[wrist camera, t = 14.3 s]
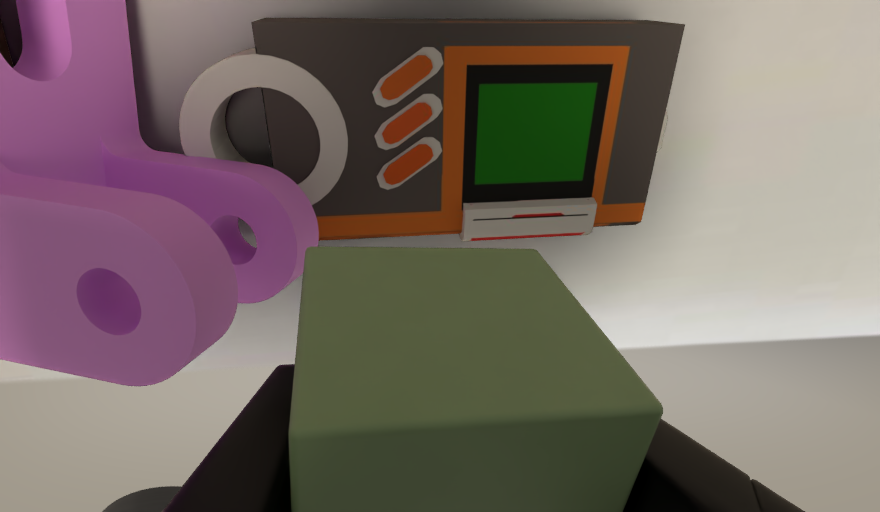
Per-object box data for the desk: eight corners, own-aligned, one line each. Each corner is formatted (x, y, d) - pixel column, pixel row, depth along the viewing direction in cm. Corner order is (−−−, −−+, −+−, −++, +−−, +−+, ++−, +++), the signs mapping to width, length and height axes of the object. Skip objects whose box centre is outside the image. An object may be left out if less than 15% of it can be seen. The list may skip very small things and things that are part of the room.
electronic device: (148, 22, 12) (703, 25, 14) (184, 16, 15) (651, 19, 17) (205, 260, 16) (653, 236, 18) (227, 221, 18) (616, 204, 20)
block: (536, 246, 9) (669, 407, 5) (500, 414, 11) (583, 615, 7) (305, 243, 8) (288, 435, 5) (307, 426, 10) (296, 664, 6)
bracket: (115, 259, 16) (317, 293, 15) (-86, 341, 11) (203, 401, 10) (46, -255, 12) (324, -255, 11) (-344, -524, 7) (125, -571, 6)
